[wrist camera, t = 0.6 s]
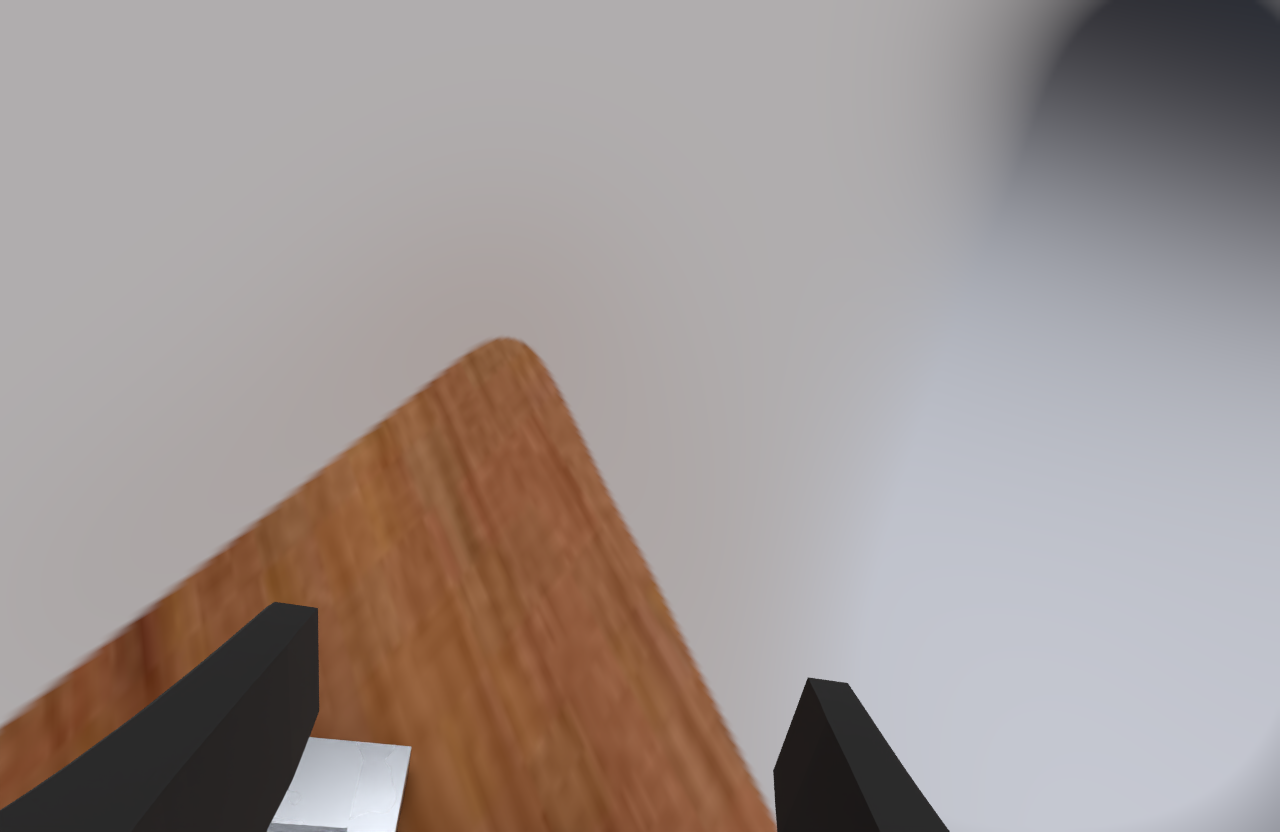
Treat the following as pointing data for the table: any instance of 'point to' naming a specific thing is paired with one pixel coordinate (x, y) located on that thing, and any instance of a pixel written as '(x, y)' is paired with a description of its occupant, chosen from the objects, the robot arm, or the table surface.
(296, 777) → the slot rail
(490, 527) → the table surface
